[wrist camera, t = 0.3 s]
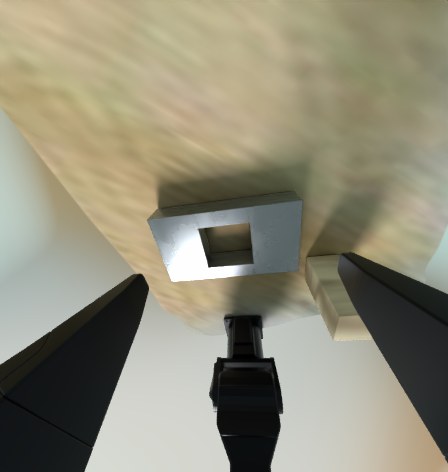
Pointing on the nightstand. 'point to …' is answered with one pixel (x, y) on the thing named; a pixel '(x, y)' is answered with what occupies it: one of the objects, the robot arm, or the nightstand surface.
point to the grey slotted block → (227, 213)
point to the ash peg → (333, 299)
